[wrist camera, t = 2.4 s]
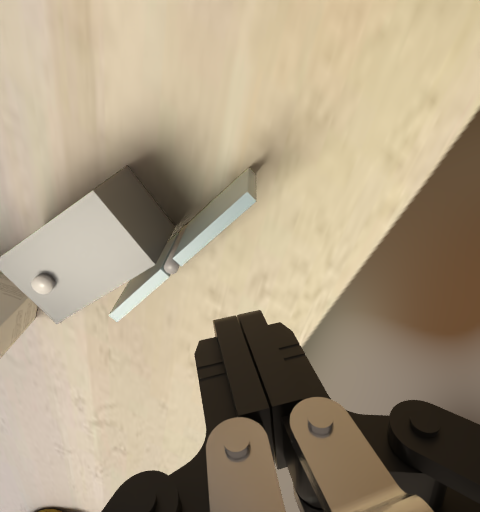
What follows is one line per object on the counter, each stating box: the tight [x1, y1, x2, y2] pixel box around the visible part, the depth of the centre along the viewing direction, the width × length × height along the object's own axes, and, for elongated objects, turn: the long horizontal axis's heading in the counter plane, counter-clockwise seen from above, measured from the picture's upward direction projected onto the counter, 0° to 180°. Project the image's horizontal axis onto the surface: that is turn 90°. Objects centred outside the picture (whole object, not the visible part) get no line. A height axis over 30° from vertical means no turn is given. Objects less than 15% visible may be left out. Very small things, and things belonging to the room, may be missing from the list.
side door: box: [109, 167, 256, 322], centre depth 40 cm, size 20×1×10 cm, turn 133°
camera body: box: [0, 166, 175, 324], centre depth 41 cm, size 16×9×11 cm, turn 123°
